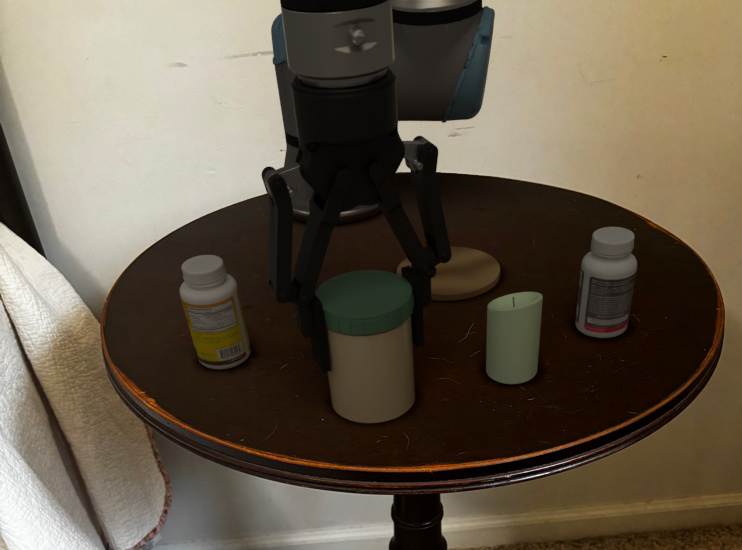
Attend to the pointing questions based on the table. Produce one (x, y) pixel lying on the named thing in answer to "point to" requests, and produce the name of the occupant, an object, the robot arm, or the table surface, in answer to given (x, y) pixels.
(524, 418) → the table surface
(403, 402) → the jar
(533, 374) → the candle
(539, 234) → the table surface
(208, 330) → the supplement bottle
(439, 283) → the coaster
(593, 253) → the pill bottle
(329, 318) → the lid
